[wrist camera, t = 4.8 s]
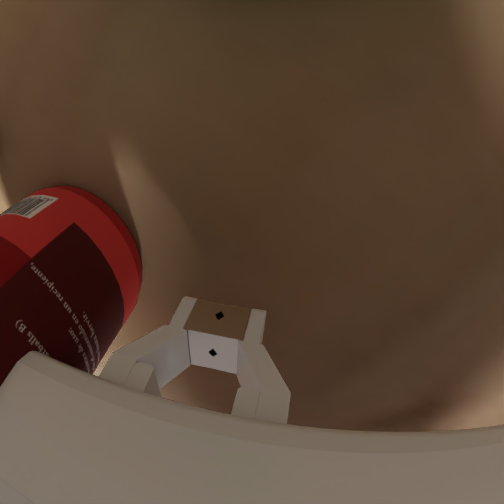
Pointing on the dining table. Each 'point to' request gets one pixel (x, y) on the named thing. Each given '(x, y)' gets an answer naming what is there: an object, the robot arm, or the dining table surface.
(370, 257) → the dining table surface
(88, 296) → the canned food
